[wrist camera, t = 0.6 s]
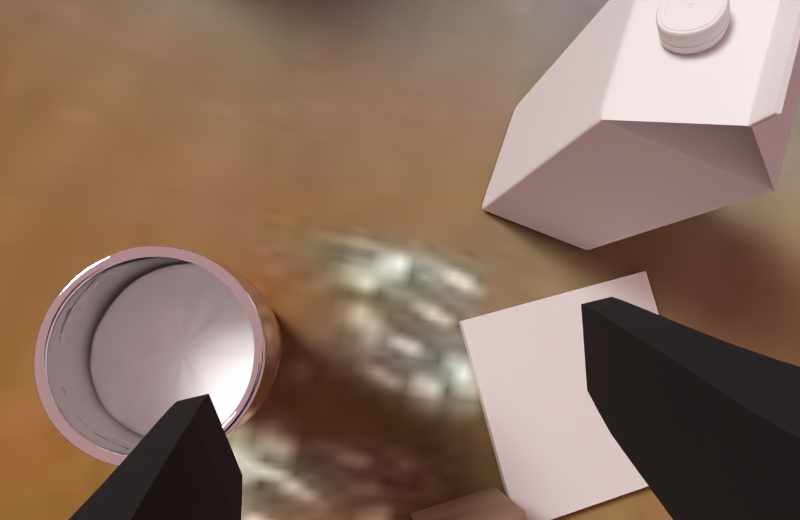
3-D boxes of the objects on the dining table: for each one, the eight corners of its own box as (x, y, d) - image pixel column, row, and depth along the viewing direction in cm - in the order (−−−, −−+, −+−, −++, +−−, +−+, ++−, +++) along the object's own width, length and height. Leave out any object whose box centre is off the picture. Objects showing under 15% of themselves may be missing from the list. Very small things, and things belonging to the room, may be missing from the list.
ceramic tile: (698, 464, 35) (705, 466, 34) (514, 527, 33) (518, 530, 32) (640, 272, 36) (645, 270, 35) (458, 321, 34) (461, 321, 33)
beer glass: (317, 346, 33) (320, 354, 18) (222, 438, 31) (141, 530, 16) (230, 257, 32) (161, 191, 18) (132, 345, 31) (-31, 354, 16)
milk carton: (616, 148, 37) (926, -45, 18) (585, 251, 36) (883, 158, 17) (514, 106, 36) (726, -138, 18) (479, 210, 35) (667, 66, 16)
